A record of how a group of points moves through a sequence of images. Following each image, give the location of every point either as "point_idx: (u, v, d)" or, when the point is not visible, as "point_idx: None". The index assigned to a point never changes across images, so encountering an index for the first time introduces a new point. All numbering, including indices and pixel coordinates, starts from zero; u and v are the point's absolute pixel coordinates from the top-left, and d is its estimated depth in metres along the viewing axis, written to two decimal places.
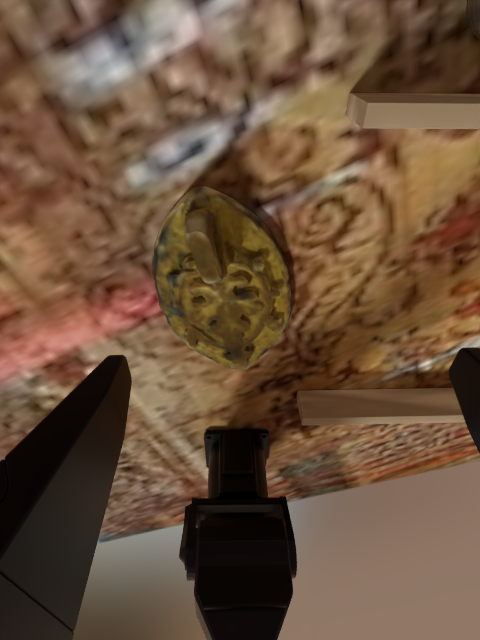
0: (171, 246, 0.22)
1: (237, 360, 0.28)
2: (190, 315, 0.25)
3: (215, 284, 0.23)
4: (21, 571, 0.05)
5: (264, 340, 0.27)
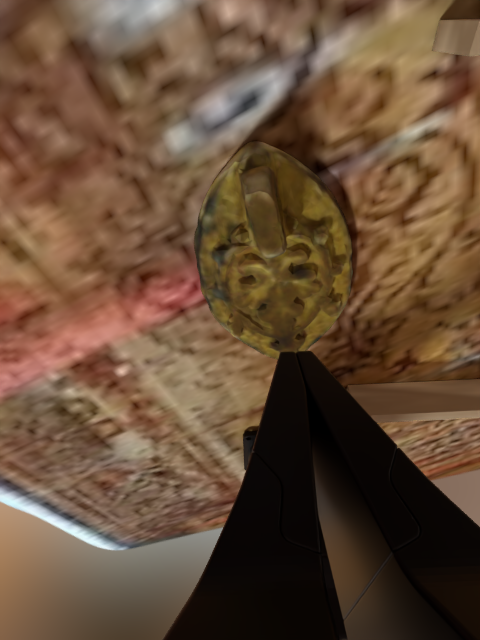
0: (219, 216, 0.19)
1: (286, 350, 0.25)
2: (237, 298, 0.22)
3: (269, 261, 0.20)
4: None
5: (317, 327, 0.24)
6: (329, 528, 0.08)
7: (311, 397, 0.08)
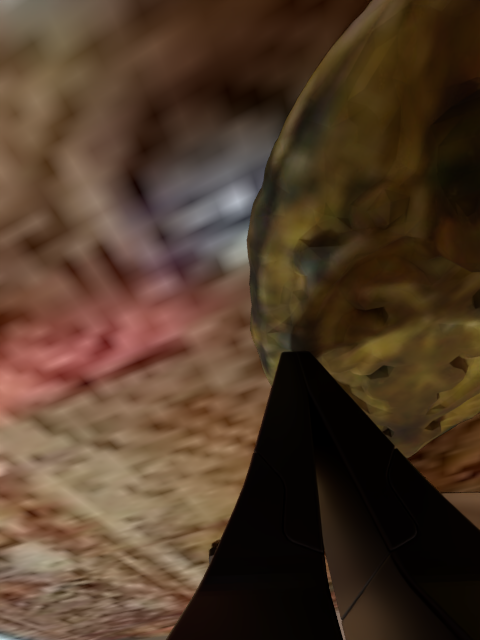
0: (331, 156, 0.07)
1: (403, 446, 0.13)
2: (332, 354, 0.10)
3: (440, 276, 0.08)
4: None
5: (469, 406, 0.12)
6: (327, 528, 0.08)
7: (309, 397, 0.08)
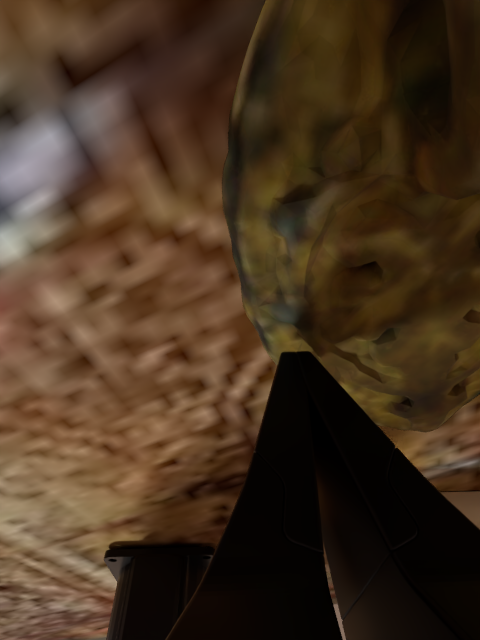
0: (290, 99, 0.07)
1: (427, 416, 0.12)
2: (330, 321, 0.09)
3: (432, 217, 0.07)
4: None
5: None
6: (327, 528, 0.08)
7: (309, 397, 0.08)
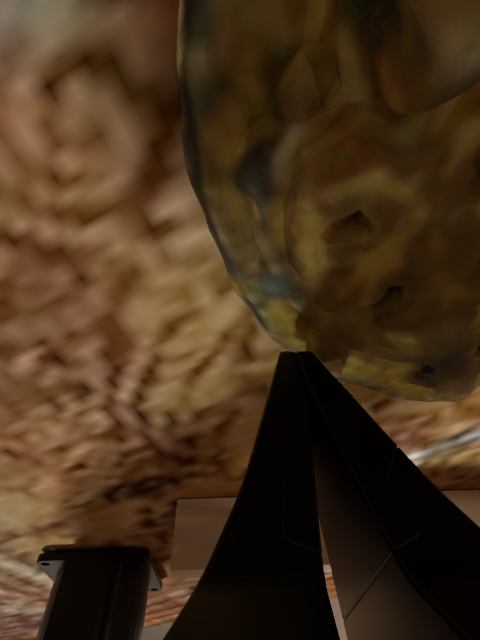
0: (231, 37, 0.06)
1: (453, 383, 0.11)
2: (323, 287, 0.09)
3: (414, 147, 0.06)
4: None
5: None
6: (329, 528, 0.08)
7: (311, 397, 0.08)
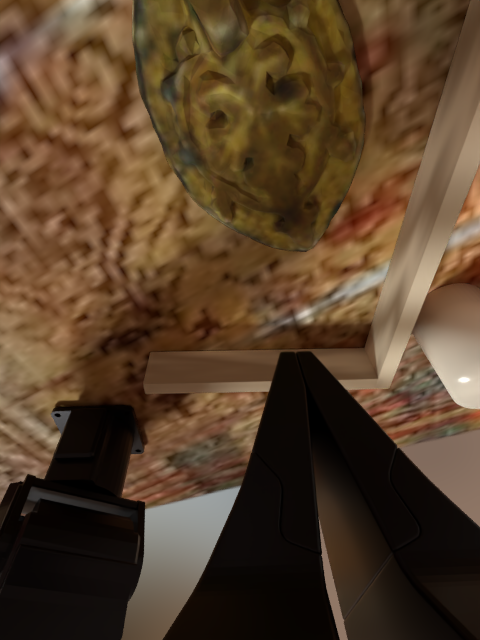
0: (153, 24, 0.14)
1: (297, 229, 0.19)
2: (212, 157, 0.16)
3: (235, 75, 0.14)
4: None
5: (332, 187, 0.18)
6: (329, 528, 0.08)
7: (311, 397, 0.08)
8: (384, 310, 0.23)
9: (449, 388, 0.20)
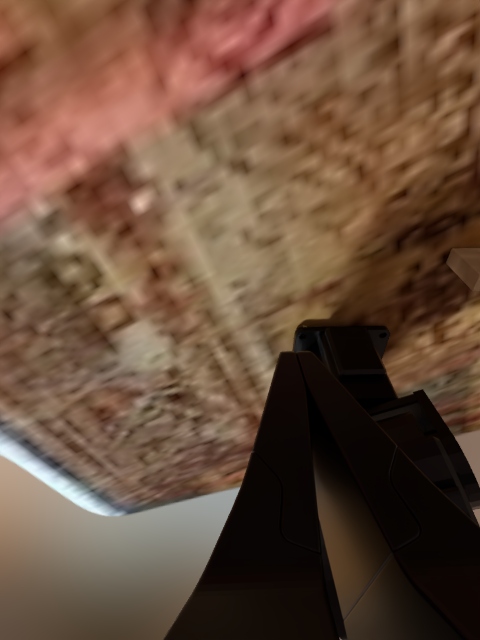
0: None
1: None
2: None
3: None
4: None
5: None
6: (329, 528, 0.08)
7: (311, 397, 0.08)
8: None
9: None
